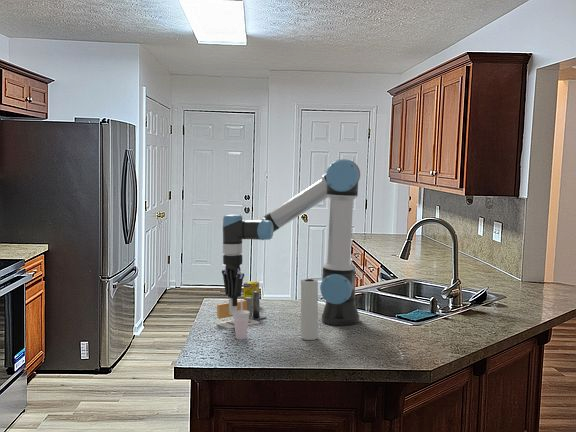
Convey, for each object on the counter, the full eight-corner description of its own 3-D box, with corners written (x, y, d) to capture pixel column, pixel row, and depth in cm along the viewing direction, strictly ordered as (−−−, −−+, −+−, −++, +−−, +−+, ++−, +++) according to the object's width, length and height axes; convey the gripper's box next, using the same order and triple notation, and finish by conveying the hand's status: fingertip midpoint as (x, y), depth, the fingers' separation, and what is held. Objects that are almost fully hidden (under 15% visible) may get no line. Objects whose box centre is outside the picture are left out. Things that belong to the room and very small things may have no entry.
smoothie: (252, 336, 241) (252, 299, 240) (246, 341, 235) (245, 302, 234) (236, 335, 243) (236, 297, 242) (229, 339, 237) (229, 301, 236)
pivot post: (266, 318, 270) (266, 292, 269) (254, 320, 266) (254, 293, 265) (258, 315, 275) (257, 289, 274) (246, 317, 271) (245, 291, 270)
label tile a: (259, 323, 261) (259, 321, 261) (247, 325, 258) (247, 323, 258) (247, 319, 268) (247, 317, 268) (234, 321, 265) (234, 319, 265)
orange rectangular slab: (249, 316, 270) (249, 296, 269) (252, 317, 268) (252, 297, 267) (216, 321, 261) (216, 301, 260) (219, 322, 259) (219, 302, 258)
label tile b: (241, 326, 256) (241, 324, 256) (228, 329, 253) (228, 327, 253) (229, 322, 263) (229, 320, 263) (216, 324, 260) (216, 322, 260)
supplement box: (256, 308, 290) (256, 283, 289) (243, 307, 291) (243, 283, 290) (259, 305, 295) (259, 281, 295) (246, 305, 297) (246, 281, 296)
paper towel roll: (312, 341, 234) (312, 282, 233) (297, 339, 237) (297, 280, 236) (322, 337, 240) (322, 279, 239) (307, 334, 244) (307, 277, 242)
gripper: (250, 255, 254) (250, 315, 256) (231, 251, 264) (232, 309, 266) (233, 256, 249) (234, 318, 251) (215, 253, 260) (216, 312, 261)
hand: (233, 313), depth 258 cm, fingers closed
